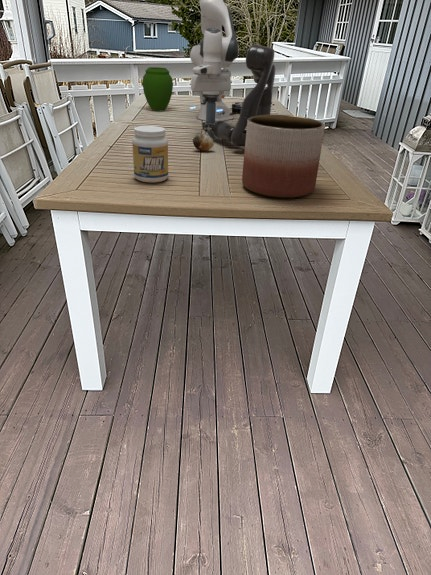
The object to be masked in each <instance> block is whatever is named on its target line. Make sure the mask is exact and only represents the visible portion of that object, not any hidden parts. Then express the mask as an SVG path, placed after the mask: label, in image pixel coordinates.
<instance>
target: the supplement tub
mask: <svg viewBox="0 0 431 575" xmlns="http://www.w3.org/2000/svg"><path fill="white" fill-rule="evenodd" d="M133 130H134V131H133V134H134V136H133V137H132V140H131V144H132V160H133V176H134V178H135V179H136V180H138V181H139V182H143V183H161V182H164V181H166V180H167V179H168V177H169V141H168V138H167V137H166V128H164V127H162V126H157V125H139V126H136V127H134V128H133Z"/></svg>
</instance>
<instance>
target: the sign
mask: <svg viewBox="0 0 431 575" xmlns="http://www.w3.org/2000/svg"><path fill="white" fill-rule="evenodd" d="M242 104H243V101H238V102H237V101H236V102H234V103H231V113H235V112H238V113H237V114H239V115H240V112H241V107H242Z"/></svg>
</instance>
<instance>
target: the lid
mask: <svg viewBox="0 0 431 575" xmlns="http://www.w3.org/2000/svg"><path fill="white" fill-rule="evenodd" d="M206 101H207V102H217V97H216V96H206Z"/></svg>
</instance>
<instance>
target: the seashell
mask: <svg viewBox="0 0 431 575" xmlns="http://www.w3.org/2000/svg"><path fill="white" fill-rule="evenodd" d="M192 143H193V147H195V149H196V150H198V151H201V152H207V151H209V150H211V149H212V148H213V147H214V145H215V142H214V138H211V137H210V136H209V135H208V133H207V132H206V131H204V132H202V133H199V134H197V135H196V136H195V137H193V139H192Z"/></svg>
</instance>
